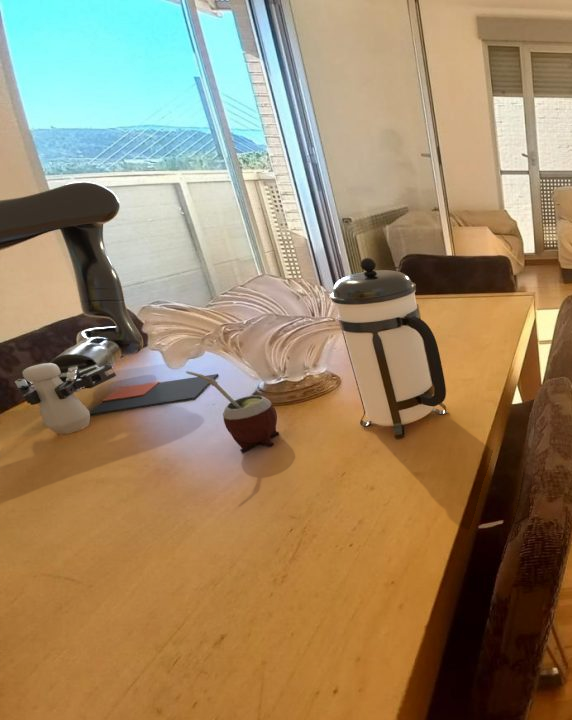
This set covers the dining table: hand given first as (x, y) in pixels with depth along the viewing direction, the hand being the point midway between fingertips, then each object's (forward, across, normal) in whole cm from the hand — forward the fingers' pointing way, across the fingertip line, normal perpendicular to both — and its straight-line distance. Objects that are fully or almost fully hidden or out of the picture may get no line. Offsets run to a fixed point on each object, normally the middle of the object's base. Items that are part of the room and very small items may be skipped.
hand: (45, 396), depth 84 cm
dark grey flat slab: (-13, +10, +8) cm, 18 cm away
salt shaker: (-3, 0, +8) cm, 9 cm away
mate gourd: (+24, +31, +8) cm, 40 cm away
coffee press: (+30, +55, +8) cm, 63 cm away
